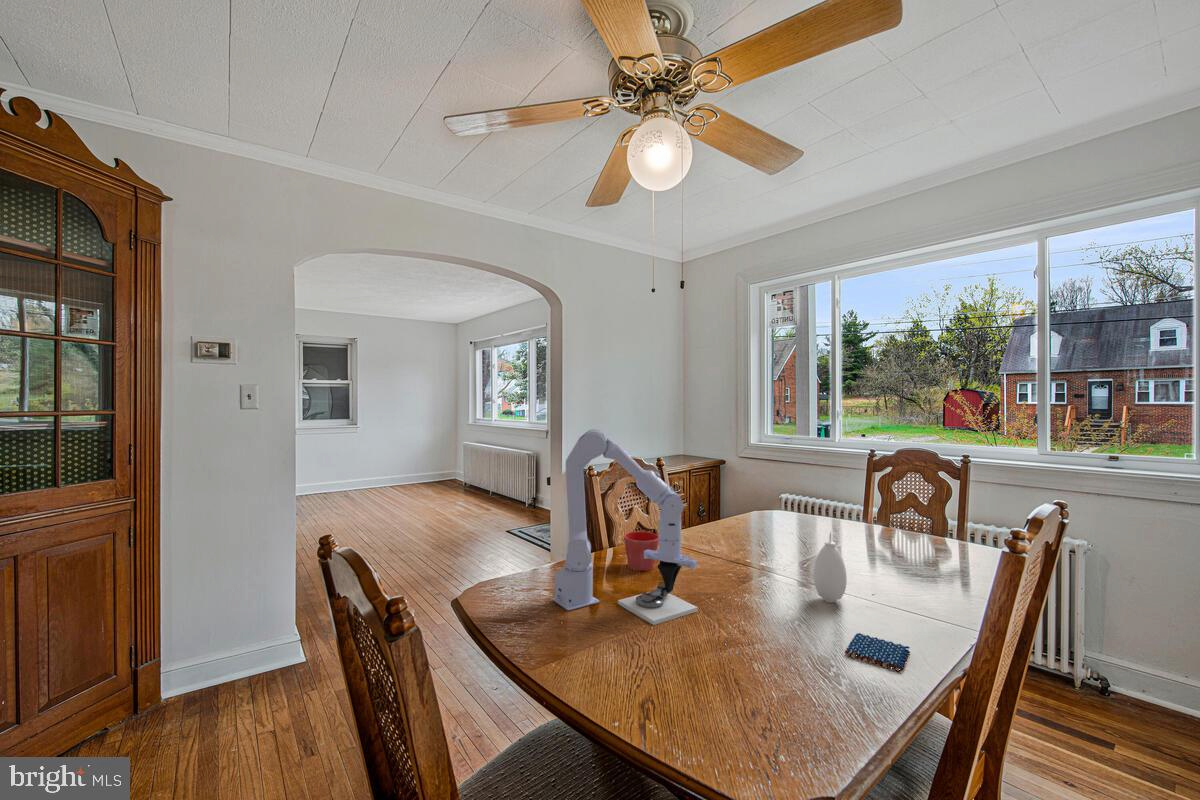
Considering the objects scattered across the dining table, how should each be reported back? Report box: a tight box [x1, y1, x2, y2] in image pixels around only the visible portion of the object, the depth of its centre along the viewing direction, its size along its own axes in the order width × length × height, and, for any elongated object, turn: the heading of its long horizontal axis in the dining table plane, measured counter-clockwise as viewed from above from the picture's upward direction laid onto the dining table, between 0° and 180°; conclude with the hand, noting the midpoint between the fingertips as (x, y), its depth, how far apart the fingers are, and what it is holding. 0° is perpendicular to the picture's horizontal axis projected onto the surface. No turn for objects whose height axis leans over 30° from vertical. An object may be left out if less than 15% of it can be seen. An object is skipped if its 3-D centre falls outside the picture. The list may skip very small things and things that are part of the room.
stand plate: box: [617, 591, 699, 626], centre depth 126 cm, size 14×14×1 cm
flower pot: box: [623, 530, 659, 572], centre depth 156 cm, size 11×11×10 cm
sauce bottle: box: [812, 532, 848, 604], centre depth 131 cm, size 8×8×18 cm
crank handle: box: [636, 582, 669, 608], centre depth 128 cm, size 11×7×2 cm, turn 140°
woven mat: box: [844, 632, 911, 672], centre depth 104 cm, size 10×11×2 cm
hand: (669, 591), depth 130 cm, fingers closed
